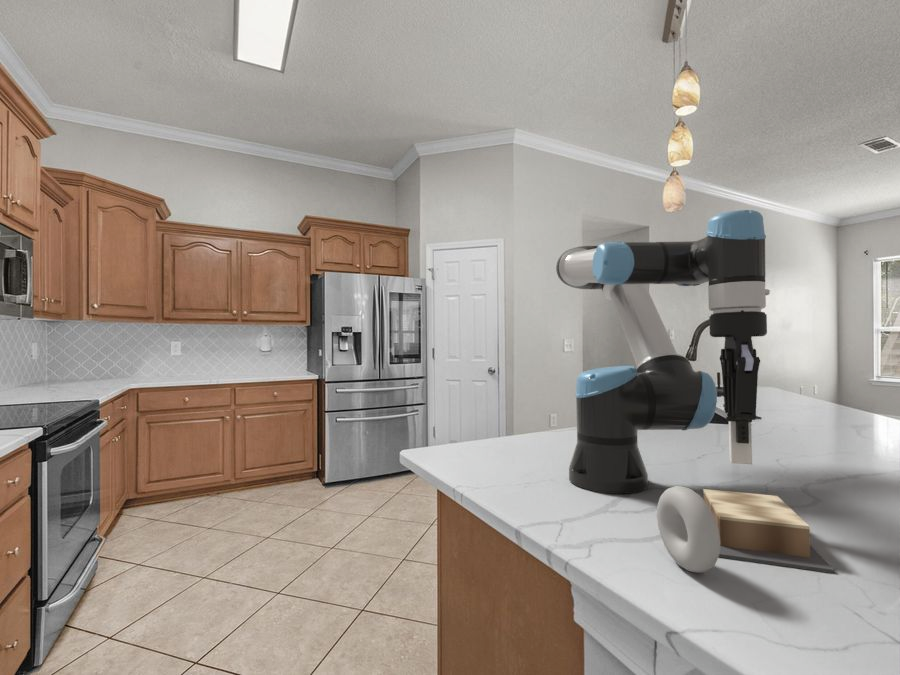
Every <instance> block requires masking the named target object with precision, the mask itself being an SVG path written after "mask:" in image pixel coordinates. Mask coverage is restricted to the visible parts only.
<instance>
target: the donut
mask: <svg viewBox="0 0 900 675" xmlns="http://www.w3.org/2000/svg"><path fill="white" fill-rule="evenodd" d="M657 502H658V503H657V508H656V520H657V527H658V530H659V534H660V538H661V540H662V543H663V545H664V547H665V549H666V550H667V552H668V554H669V556H670V558H672V559H673V561H674V562H675V563H676V564H677V565H679V566H680V567H681V568H683V569H685V570H687V571H689V572H690V573H705V572H708V571H710V569H712V568H713V567H714V566H715V565H716V564H717V562H718V559H719V558H720V557H719V554H720V543H721V542H720V535H719V529H718V526H717V523H716V520H715V517H714V515H713V513H712V511H711V510H710V508H709V506H708V505H707V503H706V502H705V501H704V498H703V497H702V496H701V495H700V494H698V493H697V492H695V491H694V490H693V489H691V488H689V487H685V486H681V485H675V486H672V487H669V488H667V489H665V490H664V492H663V493H662V494H661V495H660V497H659V499H658V501H657Z"/></svg>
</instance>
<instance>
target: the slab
mask: <svg viewBox="0 0 900 675" xmlns="http://www.w3.org/2000/svg"><path fill="white" fill-rule="evenodd" d="M702 492H703V493H702V494H703V495H702V496H703V497H702V498H703V500H704V501H705V502H706V503H707V505H708V506H709V508H710V510H711V511H712V513H713V515H714V517H715V520H716V523H717V526H718V529H719V535H720V542H721V543H720V546H726V547H734V548H741V549H749V550H756V551H764V552H771V553H779V554H787V555H794V556H802V557H809V558H810V545H811V536H810V535H811V534H810V532H811V531H810V525H809V524H808V523H807V522H806V521H804V519H802V518H801V517H800V516H799V515H798V514H797V513H796V512H795V511H794V510H793V509H792V508H791V507H790V506H789V505H788V504H786V502H784V500H782V499H781V498H780V497H779V496H778V495H770V494H761V493H752V492H751V493H750V492H741V491H739V492H738V491H728V490H718V489H717V490H716V489H705V488H703V489H702Z"/></svg>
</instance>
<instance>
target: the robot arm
mask: <svg viewBox="0 0 900 675" xmlns="http://www.w3.org/2000/svg"><path fill="white" fill-rule="evenodd" d="M707 222H708V223H707V227H706V232H705V234H706V236H705V237H703V238H701V239H698V240H693V241H690V240H689V241H655V242H654V241H653V242H651V241H646V242H645V241H636V242H635V241H634V242H633V241H631V242H630V241H629V242H628V241H627V242H626V241H612V242H602V243H601V244H599V245H580V246H577V247H572V248H569V249H567V250H565V251H564V252H563V253H562V254H561V255H560V256H559V258H558V260H557V263H556V267H555V269H556V274H557V277H558V278H559V280H560V281H561V282H562V283H563V284H564V285H566V286H569V287H570V288H575V289H580V290H601V291H602V293H603V295H604V297H605V298H606V300H608V301H610V302H612V303H613V306H614V308H615V311H616V314H617V316H618V319H619V322H620V324H621V327H622V330H623V333H624V335H625V339H626V342H627V343H628V346H629V349H630V351H631V354H632V357H633V360H634V363H635V365H636V367H635V366H633V365H616V366H606V367H597V368H592V369H589V370H585V371H581V373H580V374H578V375H577V378H576V387H575V396H574V397H575V398H576V438H577V439H576V445H575V448H574V451H573V455H572V458H571V460H570V463H569V467H568V480H569V481H570V483H571V484H573V485H575V486H576V487H580V488H581V489H585V490H589V491H593V492H599V493H606V494H607V493H608V494H631V493H632V494H633V493H639V492H642V491H644V490H646V489H647V488H648V487H649V475H648V471H647V469H646V466H645V463H644V461H643V456H642V455H641V450H640V449H639V446H638V445H639V444H638V431H653V430H654V431H656V430H657V431H660V430H661V431H663V430H664V431H669V430H670V431H671V430H672V431H675V430H679V431H680V430H681V431H688V430H694V429H695V430H696V429H697V430H698V429H699V430H700V429H702V428H704V427H706V426H707V425H709V423H710V422H711V421H712V419H713V418H714V416H715V412H716V410H717V403H718V401H717V400H718V393H717V391H718V390H717V387H716V383H715V381H714V379H713V377H712V376H711V375H710V374H709V373H708V372H704V371H701V370H698V371H696V370H694V369H693V366H692V364H691V362H690V360H689V359H688V358H687V357H686V356H684V355H682V354H678V352H677V350H676V349H675V346H674V344H673V342H672V340H671V337H670V335H669V332H668V331H667V329H666V327H665V325H664V322H663V320H662V318H661V316H660V313H659V311H658V309H657V306H656V305H655V303H654V301H653V298H652V296H651V294H650V292H649V289H648V288H649V286H650V285H674V284H675V285H677V286H679V287H692V286H693V287H695V286H700V285H702V284H704V283H708V286H707V290H708V291H707V292H708V309H709V311H710V312H712V313H711V314H710V316H709V318H708V320H709V336H710V337H711V338H724V339H725V340H724V347H723V348H721V349H720V356H719V361H720V366H721V373H722V374H721V377H722V388H723V402H724V409H723V410H724V412H725V414H726V417H725V419H726V421H727V422H728V453H729V454H728V456H729V458H728V459H729V462H730V463H731V464H739V465H750V466H751V465H753V450H752V449H753V446H752V441H753V440H752V438H753V437H752V436H753V435H752V422H753V421H755V420H756V419H757V397H758V396H757V395H758V380H759V379H758V378H759V377H758V375H759V370H760V369H759V368H760V363H761V359H760V357H759V356H757V349H756V348H754V344H753V339H752V337H753V338H755V337H756V338H757V337H765V336H767V334H768V324H767V323H768V319H767V318H768V317H767V313H766V312H765V311H762V309H765V308H766V306H767V302H766V300H767V297H766V296H769V295H770V292H771V290H770V289H768V288H767V289H766V239H767V238H766V237H767V236H766V233H765V224H764V217H763V214H761V212H759V211H757V210H754V209H753V210H752V209H741V210H732V211H727V212H726V211H725V212H722V213H719V214H716V215H714V216H712V217H711V218H710V219H709V220H708V221H707Z"/></svg>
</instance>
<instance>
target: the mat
mask: <svg viewBox="0 0 900 675" xmlns="http://www.w3.org/2000/svg"><path fill="white" fill-rule="evenodd" d="M718 558H722V559H725V558H726V559H731V560H739V561H747V562H753V563H760V564H766V565H767V564H768V565H772V566H773V565H774V566H780V567H781V566H782V567H788V568H795V569H803V570H810V571H815V572H824V573H831V574H835V573H836V570H835V569H834V567H833V566H832V565H831V564H829V562H828V561H826V560H825V558H824V557H823V556H822V555H821V554H820V553H819V552H818V551H817V550H816V549H815V548H814V546H812V545H811V544H810V558H809V557H802V556H794V555H787V554H779V553H771V552H764V551H756V550H749V549H741V548H734V547H726V546H720V554H719V557H718Z"/></svg>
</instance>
